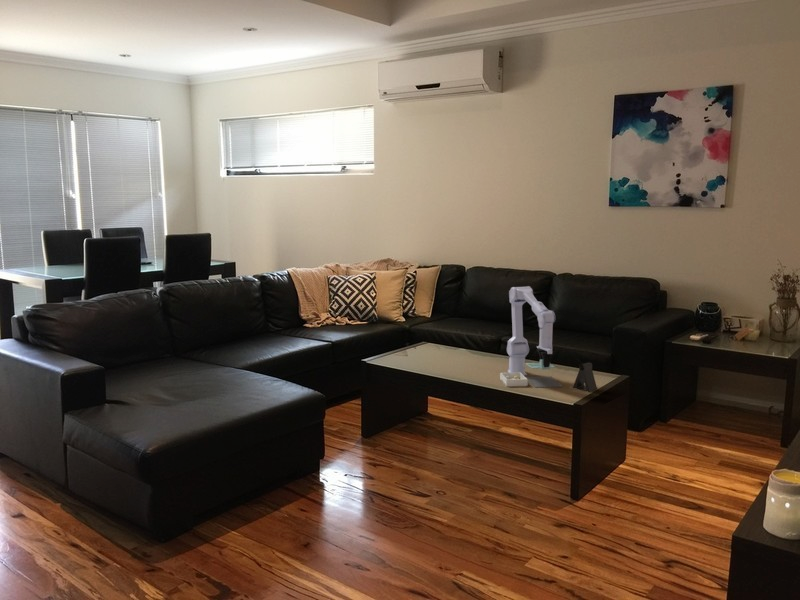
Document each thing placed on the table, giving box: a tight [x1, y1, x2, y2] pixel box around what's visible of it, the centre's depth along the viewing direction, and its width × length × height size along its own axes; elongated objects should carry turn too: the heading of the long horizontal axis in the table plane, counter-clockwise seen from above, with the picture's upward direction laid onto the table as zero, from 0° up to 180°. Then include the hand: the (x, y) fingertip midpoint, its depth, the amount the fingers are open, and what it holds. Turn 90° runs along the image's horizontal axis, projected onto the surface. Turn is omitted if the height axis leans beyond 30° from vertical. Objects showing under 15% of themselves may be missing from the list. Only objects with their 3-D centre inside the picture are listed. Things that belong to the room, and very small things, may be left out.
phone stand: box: [572, 361, 598, 393], centre depth 309 cm, size 9×6×12 cm, turn 40°
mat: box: [525, 375, 564, 389], centre depth 321 cm, size 18×13×1 cm
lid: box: [525, 358, 556, 371], centre depth 318 cm, size 17×11×4 cm, turn 4°
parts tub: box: [499, 372, 529, 387], centre depth 320 cm, size 13×10×3 cm
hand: (545, 365), depth 312 cm, fingers closed on lid, 3 cm apart
